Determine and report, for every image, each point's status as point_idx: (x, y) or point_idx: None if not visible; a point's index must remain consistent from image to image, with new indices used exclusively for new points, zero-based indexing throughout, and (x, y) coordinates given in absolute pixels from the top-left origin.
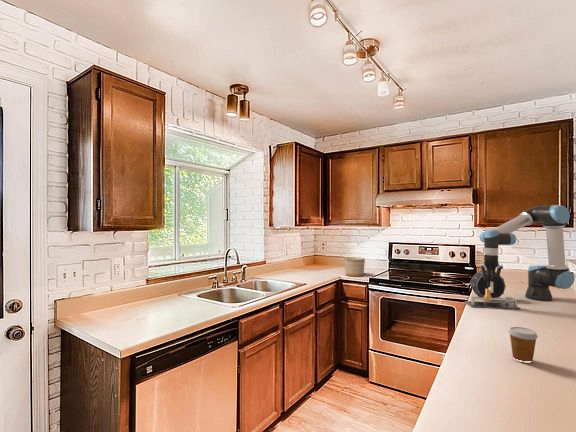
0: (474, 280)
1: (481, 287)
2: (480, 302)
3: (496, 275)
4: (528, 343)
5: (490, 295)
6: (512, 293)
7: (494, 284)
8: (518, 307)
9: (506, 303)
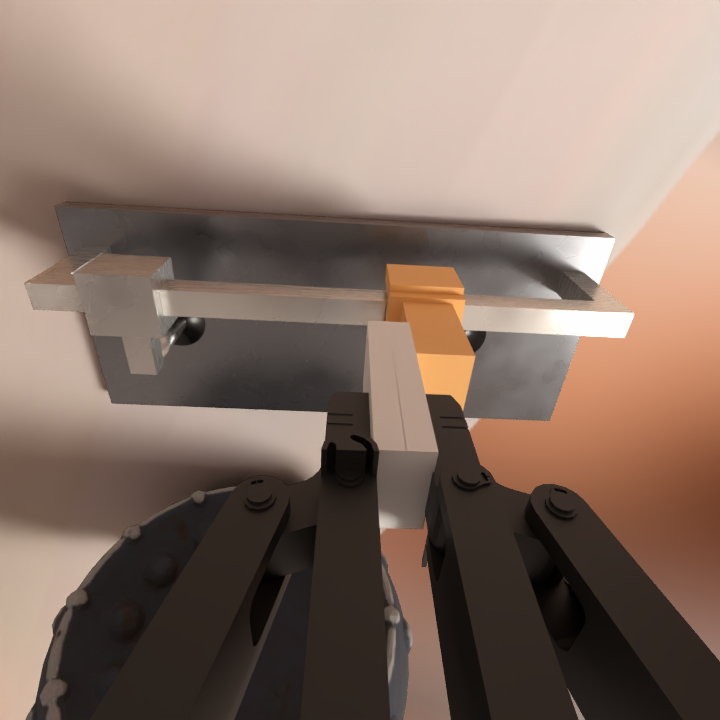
0: (403, 701)
1: None
2: None
3: (229, 676)
4: None
5: None
6: (22, 650)
7: (331, 426)
8: (74, 223)
9: (177, 324)
